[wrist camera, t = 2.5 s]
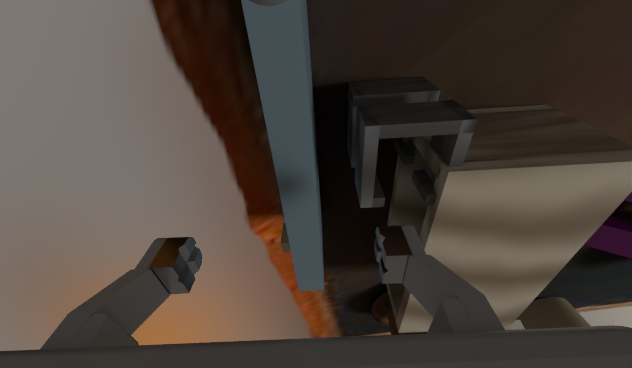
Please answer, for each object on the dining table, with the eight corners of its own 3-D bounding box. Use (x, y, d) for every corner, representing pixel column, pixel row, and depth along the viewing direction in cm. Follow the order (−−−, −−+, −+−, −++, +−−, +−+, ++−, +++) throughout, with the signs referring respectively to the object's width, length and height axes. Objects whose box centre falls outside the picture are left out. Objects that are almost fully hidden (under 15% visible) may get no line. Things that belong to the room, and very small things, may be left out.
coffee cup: (506, 323, 47) (556, 407, 37) (519, 298, 41) (580, 389, 32) (561, 317, 46) (627, 402, 36) (581, 290, 40) (666, 383, 31)
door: (242, -62, 15) (171, -117, 8) (309, -68, 15) (306, -130, 7) (290, 214, 29) (282, 291, 22) (325, 212, 29) (330, 289, 22)
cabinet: (347, 82, 20) (366, 130, 13) (563, 67, 20) (706, 109, 13) (345, 265, 35) (353, 334, 28) (467, 259, 35) (507, 328, 28)
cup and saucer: (381, 274, 37) (391, 317, 32) (456, 279, 38) (478, 322, 33) (361, 313, 44) (367, 353, 40) (426, 316, 45) (439, 355, 41)
